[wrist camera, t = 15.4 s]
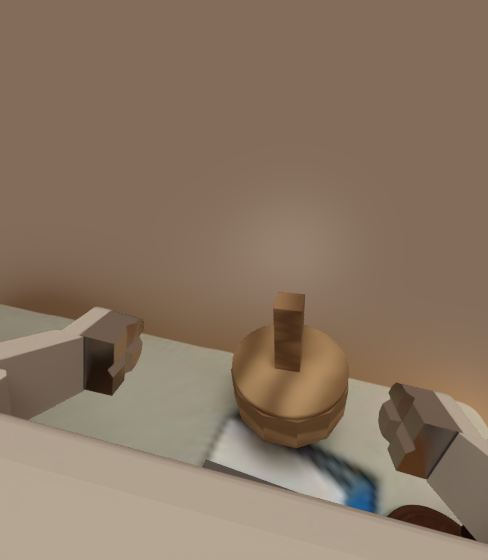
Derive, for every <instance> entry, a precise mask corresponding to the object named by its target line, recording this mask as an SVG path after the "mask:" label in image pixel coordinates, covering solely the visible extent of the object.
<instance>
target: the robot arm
mask: <svg viewBox="0 0 488 560" xmlns="http://www.w3.org/2000/svg"><path fill="white" fill-rule="evenodd" d="M143 329H144V321H143V319H142V318H138V317H135V316H131V315H127V314H123V313H120V312H116V311H112V310H109V309H105V308H100V307H95V308H93V309H92V310H90V311H89V312H88V313H86V314H84V315H83V316H82V317H80V318H79V319H77V320H76V321H74V322H73V323H72V324H70V325H69V326H67V327H66V328H64V329H63V330H62V331H59V330H52V331H48V332H44V333H39V334H35V335H30V336H26V337H22V338H17V339H13V340H9V341H4V342H0V560H488V440H486V439H484V438H483V437H482V435H481V434H480V433H479V432H478V430H477V429H476V428H475V427H474V425H473V424H472V423H471V421H470V420H469V419H468V418H467V416H466V415H465V414H464V412H463V411H462V410H461V409H460V407H459V406H458V405H457V404H456V402H455V401H454V400H453V398H452V397H450V396H449V395H447V394H445V393H440V392H436V391H431V390H425V389H421V388H417V387H412V386H408V385H404V384H400V383H395V384H394V385H393V386H392V387H391V389H390V391H389V395H390V398H391V399H390V400H388V401H386V402H385V403H383V405H382V407H381V409H380V411H379V419H378V422H379V428H380V431H381V434H382V436H383V437H384V438H385V439H386V440H387V441H388V442H389V443H390V444H389V446H388V452H389V454H390V457H391V459H392V462H393V464H394V467H395V469H396V471H399V472H403V473H406V474H410V475H413V476H416V477H420V478H423V479H427V482H428V483H429V485H430V486H431V487H432V488H433V489H434V491H435V492H436V493H437V494H438V495H439V496H440V498H441V499H442V500H443V501H444V502H445V504H446V505H447V506H448V507H449V508H450V510H451V511H452V512H453V513H454V514H455V515H456V517H457V518H458V519H459V520H460V521H461V523H462V524H463V525H464V526H465V527H466V529H467V530H468V531H469V532H470V533H471V534H472V536H473V537H474V538H475V539H476V540H477V541H474V540H470V539H467V538H463V537H459V536H455V535H452V534H448V533H444V532H440V531H437V530H433V529H429V528H426V527H422V526H418V525H415V524H411V523H407V522H404V521H400V520H396V519H392V518H389V517H385V516H381V515H378V514H374V513H370V512H367V511H363V510H359V509H356V508H352V507H348V506H345V505H341V504H337V503H333V502H330V501H326V500H322V499H319V498H315V497H311V496H308V495H304V494H300V493H296V492H293V491H289V490H285V489H282V488H278V487H274V486H270V485H267V484H263V483H259V482H255V481H252V480H248V479H244V478H241V477H237V476H233V475H229V474H226V473H222V472H218V471H215V470H211V469H207V468H203V467H200V466H196V465H192V464H188V463H185V462H181V461H177V460H174V459H170V458H166V457H162V456H159V455H155V454H151V453H148V452H144V451H140V450H136V449H133V448H129V447H125V446H122V445H118V444H114V443H110V442H107V441H103V440H99V439H96V438H92V437H88V436H84V435H81V434H77V433H73V432H70V431H66V430H62V429H58V428H55V427H51V426H47V425H44V424H40V423H36V422H32V421H29V419H31V418H33V417H34V416H36V415H38V414H40V413H42V412H44V411H46V410H48V409H50V408H52V407H54V406H56V405H57V404H59V403H61V402H63V401H65V400H67V399H69V398H71V397H73V396H75V395H77V394H79V393H80V392H82V391H83V389H84V390H89V391H93V392H97V393H102V394H106V395H110V396H112V395H113V394H114V393H115V391H116V390H117V389H118V388H119V386H120V385H121V384H122V382H123V381H124V375H125V373H127V372H129V371H132V369H133V368H134V367H135V365H136V363H137V361H138V359H139V357H140V354H141V350H142V341H141V339H140V337H139V335H140V334H141V333H142V332H143Z"/></svg>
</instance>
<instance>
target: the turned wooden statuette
mask: <svg viewBox="0 0 488 560" xmlns="http://www.w3.org/2000/svg"><path fill="white" fill-rule="evenodd" d="M387 517H389V518H392V519H396V520H400V521H404V522H407V523H411V524H415V525H418V526H422V527H426V528H429V529H433V530H437V531H440V532H444V533H448V534H452V535H455V536H459V537H463V538H467V539H470V540H474V541H477V540H476V539H475V538H474V537H473V536H472V534H471V533H470V532H469V531H468V530H467V529H466V527H465V526H464V525H462V527H461V526H460V525H459V524H457V523H456V522H455V521H453V520H452V519H450V518H449V517H447V516H446V515H444V514H442V513H440V512H438V511H436V510H434V509H431V508H428V507H425V506H420V505H406V506H402V507H399V508H397V509H395V510H394V511H393V512H391V513H390V514H389V515H388V516H387Z"/></svg>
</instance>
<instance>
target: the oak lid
mask: <svg viewBox="0 0 488 560" xmlns="http://www.w3.org/2000/svg"><path fill="white" fill-rule="evenodd" d="M304 303H305V295H304V294H294V293H283V292H278V294H277V298H276V301H275V305H274V308H273V311H274V324H272V325H268V326H265V327H262V328H260V329H257V330H255V331H253V332H252V333H250V334H249V335H248V336H247V337H245V338H244V339H243V340H242V341H241V343H240V344H239V345H238V347H237V349H236V351H235V353H234V356H233V362H232V369H231V373H232V379H233V386H234V393H235V397H236V401H237V404H238V408H239V412H240V415H241V419H242V421H243V422H245V423H246V424H247V425H248V426H249V427H250V428H251V429H252V430H253V431H254V432H255V433H256V434H258V435H259V436H260V437H261V438H262V439H263V440H264V441H268V442H272V443H276V444H281V445H285V446H289V447H294V448H299V447H302V446H305V445H308V444H311V443H314V442H317V441H320V440H323V439H326V438H327V437H328V436H329V435H330V433H331V432H332V430H333V429H334V428H335V426H336V425H337V424H338V422H339V421H340V419H341V418H342V417H343V415H344V409H345V404H346V399H347V394H348V377H349V368H348V362H347V359H346V357H345V354H344V353H343V351H342V349H341V348H340V347H339V346H338V344H337V343H336V342H335V341H334V340H332V339H331V338H330V337H329V336H328V335H326V334H324V333H323V332H321V331H319V330H316V329H315V328H312V327H309V326H306V325H303V324H304Z"/></svg>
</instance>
